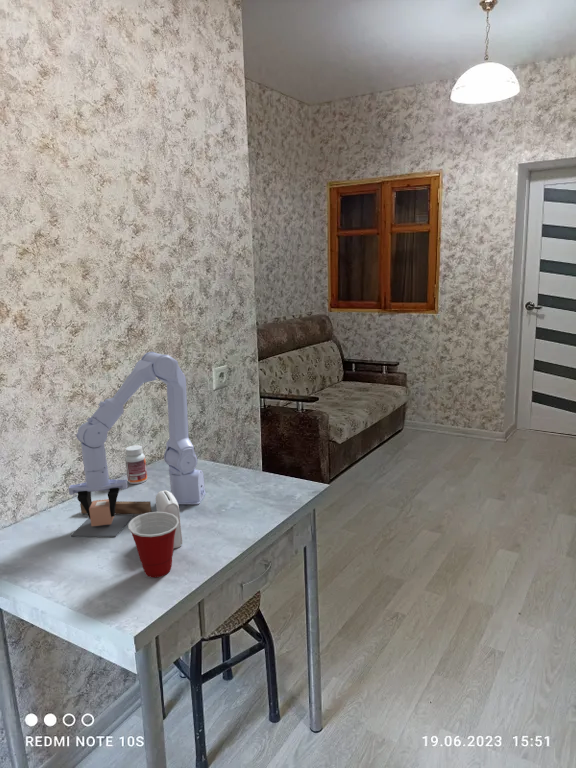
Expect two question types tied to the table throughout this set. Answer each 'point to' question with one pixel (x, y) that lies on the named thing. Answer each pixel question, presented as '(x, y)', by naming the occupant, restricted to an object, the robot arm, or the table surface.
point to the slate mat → (103, 527)
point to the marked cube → (100, 513)
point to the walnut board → (128, 507)
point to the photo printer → (170, 505)
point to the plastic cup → (154, 541)
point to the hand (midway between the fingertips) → (102, 516)
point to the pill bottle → (135, 464)
